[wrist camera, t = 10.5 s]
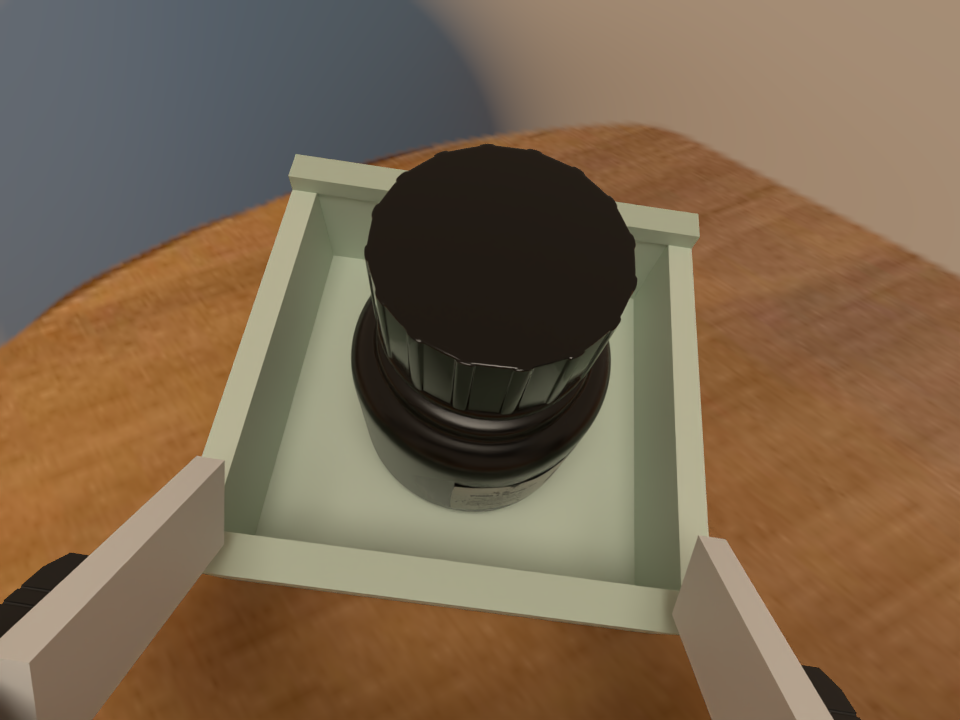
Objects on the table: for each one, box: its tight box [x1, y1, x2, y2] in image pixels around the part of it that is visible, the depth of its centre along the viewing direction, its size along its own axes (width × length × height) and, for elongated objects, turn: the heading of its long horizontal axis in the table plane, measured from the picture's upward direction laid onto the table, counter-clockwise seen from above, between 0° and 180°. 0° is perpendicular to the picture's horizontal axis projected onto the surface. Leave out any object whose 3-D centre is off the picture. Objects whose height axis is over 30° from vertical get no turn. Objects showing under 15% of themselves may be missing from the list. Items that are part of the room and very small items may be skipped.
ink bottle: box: [351, 144, 637, 512], centre depth 19 cm, size 10×9×12 cm
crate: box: [202, 154, 709, 635], centre depth 23 cm, size 17×16×6 cm
